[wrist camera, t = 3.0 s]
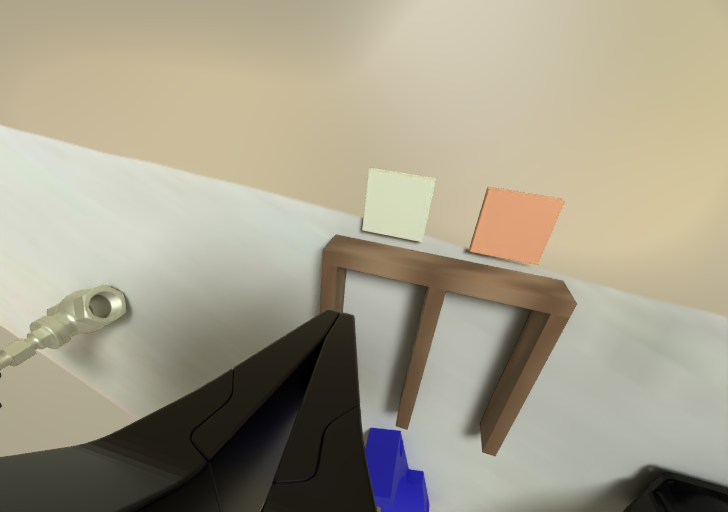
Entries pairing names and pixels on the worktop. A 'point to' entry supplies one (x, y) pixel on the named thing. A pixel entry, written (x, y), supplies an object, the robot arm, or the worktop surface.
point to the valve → (67, 322)
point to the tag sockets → (460, 280)
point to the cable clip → (394, 474)
